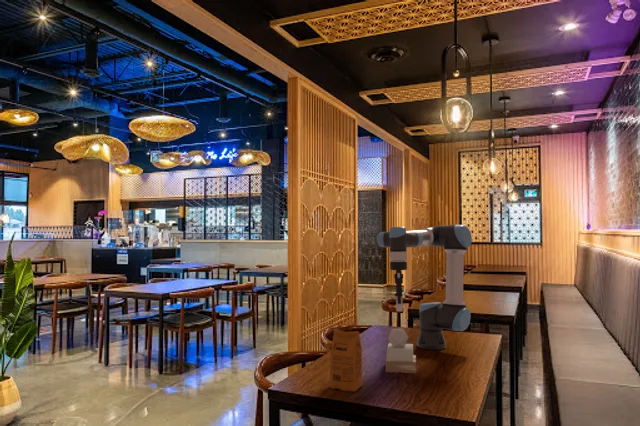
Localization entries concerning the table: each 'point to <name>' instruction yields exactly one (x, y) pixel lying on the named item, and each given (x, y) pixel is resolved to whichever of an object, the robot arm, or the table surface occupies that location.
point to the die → (398, 338)
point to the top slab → (400, 353)
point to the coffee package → (346, 361)
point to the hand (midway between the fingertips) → (399, 308)
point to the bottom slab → (401, 366)
